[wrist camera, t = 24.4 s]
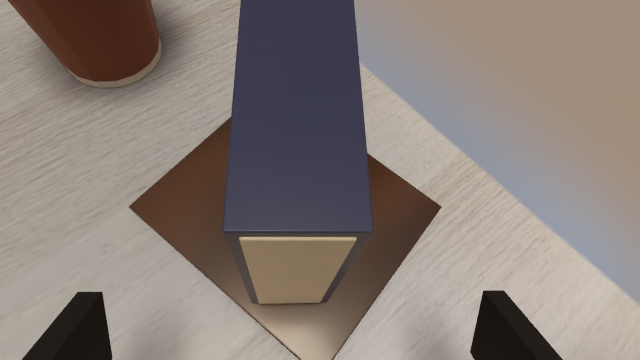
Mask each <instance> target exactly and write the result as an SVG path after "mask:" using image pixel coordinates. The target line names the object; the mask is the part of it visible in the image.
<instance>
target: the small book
mask: <svg viewBox="0 0 640 360" xmlns="http://www.w3.org/2000/svg"><path fill="white" fill-rule="evenodd" d="M357 45H358V44H357V34H356V21H355V10H354V0H241V6H240V18H239V30H238V42H237V55H236V67H235V79H234V91H233V103H232V115H231V127H230V139H229V151H228V164H227V176H226V188H225V200H224V212H223V224H222V232H223V235H224V237H225V239H226V242H227V244H228V247H229V249H230V251H231V254H232V256H233V259H234V261H235V264H236V266H237V268H238V271H239V273H240V276H241V278H242V281H243V283H244V285H245V288H246V290H247V293H248V295H249V297H250V300H251V302H252V303H259V304H283V303H320V302H327V301H328V299H329V298H330V296H331V295H332V293H333V292H334V290H335V289H336V287H337V286H338V284H339V283H340V281H341V280H342V278H343V277H344V275H345V274H346V273H347V271H348V270H349V268H350V267H351V265H352V264H353V262H354V261H355V259H356V258H357V256H358V255H359V253H360V252H361V250H362V249H363V247H364V246H365V244H366V243H367V241H368V240H369V238H370V237H371V235H372V234H373V232H374V227H373V215H372V204H371V192H370V181H369V170H368V158H367V147H366V135H365V124H364V113H363V101H362V90H361V78H360V67H359V56H358V46H357Z"/></svg>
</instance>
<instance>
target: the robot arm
mask: <svg viewBox="0 0 640 360" xmlns="http://www.w3.org/2000/svg"><path fill="white" fill-rule="evenodd" d="M470 353H471V354H472V356H473V358H474V360H562V358H561V357H560V356H559V355H558V354H557V352H556V351H555V350H554V349H553V348H552V347H551V345H550V344H549V343H548V342H547V341H546V340H545V338H544V337H543V336H542V335H541V334H540V333H539V331H538V330H537V329H536V328H535V327H534V325H533V324H532V323H531V322H530V321H529V320H528V318H527V317H526V316H525V315H524V314H523V313H522V311H521V310H520V309H519V308H518V307H517V305H516V304H515V303H514V302H513V301H512V300H511V298H510V297H509V296H508V295H507V294H506V293H505V291H483V295H482V300H481V304H480V309H479V314H478V318H477V323H476V328H475V332H474V337H473V341H472V346H471V351H470ZM22 360H112V352H111V346H110V339H109V333H108V326H107V320H106V314H105V307H104V301H103V294H102V292H78V293H77V294H76V295H75V296H74V297H73V299H72V300H71V301H70V302H69V303H68V305H67V306H66V307H65V308H64V309H63V311H62V312H61V313H60V314H59V315H58V317H57V318H56V319H55V320H54V321H53V323H52V324H51V325H50V326H49V328H48V329H47V330H46V331H45V332H44V334H43V335H42V336H41V337H40V338H39V340H38V341H37V342H36V343H35V344H34V346H33V347H32V348H31V349H30V350H29V352H28V353H27V354H26V355H25V356H24V358H23V359H22Z"/></svg>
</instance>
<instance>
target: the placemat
mask: <svg viewBox="0 0 640 360" xmlns="http://www.w3.org/2000/svg"><path fill="white" fill-rule="evenodd" d="M230 127H231V117H230V118H229V119H228V120H227V121H226V122H225V123H224V124H222V125H221V126H220V127H219V128H218V129H217V130H216V131H214V132H213V133H212V134H211V135H210V136H209V137H208V138H206V139H205V140H204V141H203V142H202V143H201V144H200V145H198V146H197V147H196V148H195V149H194V150H193V151H192V152H190V153H189V154H188V155H187V156H186V157H185V158H184V159H182V160H181V161H180V162H179V163H178V164H177V165H176V166H175V167H173V168H172V169H171V170H170V171H169V172H168V173H167V174H165V175H164V176H163V177H162V178H161V179H160V180H159V181H157V182H156V183H155V184H154V185H153V186H152V187H151V188H149V189H148V190H147V191H146V192H145V193H144V194H143V195H141V196H140V197H139V198H138V199H137V200H136V201H135V202H133V203H132V204H131V205H130V206H129V208H130V209H131V210H132V211H133V212H135V213H136V214H137V215H138V216H139V217H140V218H141V219H142V220H144V221H145V222H146V223H147V224H148V225H149V226H150V227H151V228H152V229H154V230H155V231H156V232H157V233H158V234H159V235H160V236H161V237H163V238H164V239H165V240H166V241H167V242H168V243H169V244H170V245H172V246H173V247H174V248H175V249H176V250H177V251H178V252H179V253H181V254H182V255H183V256H184V257H185V258H186V259H187V260H188V261H189V262H191V263H192V264H193V265H194V266H195V267H196V268H197V269H198V270H200V271H201V272H202V273H203V274H204V275H205V276H206V277H207V278H209V279H210V280H211V281H212V282H213V283H214V284H215V285H216V286H218V287H219V288H220V289H221V290H222V291H223V292H224V293H225V294H226V295H228V296H229V297H230V298H231V299H232V300H233V301H234V302H235V303H237V304H238V305H239V306H240V307H241V308H242V309H243V310H244V311H246V312H247V313H248V314H249V315H250V316H251V317H252V318H253V319H255V320H256V321H257V322H258V323H259V324H260V325H261V326H262V327H263V328H265V329H266V330H267V331H268V332H269V333H270V334H271V335H272V336H274V337H275V338H276V339H277V340H278V341H279V342H280V343H281V344H283V345H284V346H285V347H286V348H287V349H288V350H289V351H290V352H292V353H293V354H294V355H295V356H296V357H297V358H298V359H299V360H333V359H334V357H335V356H336V355H337V353H338V352H339V350H340V349H341V348H342V346H343V345H344V343H345V342H346V341H347V339H348V338H349V336H350V335H351V334H352V332H353V331H354V329H355V328H356V326H357V325H358V324H359V322H360V321H361V319H362V318H363V317H364V315H365V314H366V312H367V311H368V310H369V308H370V307H371V305H372V304H373V303H374V301H375V300H376V298H377V297H378V296H379V294H380V293H381V291H382V290H383V289H384V287H385V286H386V284H387V283H388V281H389V280H390V279H391V277H392V276H393V274H394V273H395V272H396V270H397V269H398V267H399V266H400V265H401V263H402V262H403V260H404V259H405V258H406V256H407V255H408V253H409V252H410V251H411V249H412V248H413V246H414V245H415V244H416V242H417V241H418V239H419V238H420V236H421V235H422V234H423V232H424V231H425V229H426V228H427V227H428V225H429V224H430V222H431V221H432V220H433V218H434V217H435V215H436V214H437V213H438V211H439V210H440V208H441V206H440V205H438V204H437V203H436V202H434V201H433V200H431V199H430V198H429V197H427V196H426V195H425V194H423V193H422V192H420V191H419V190H418V189H416V188H415V187H413V186H412V185H411V184H409V183H408V182H406V181H405V180H404V179H402V178H401V177H400V176H398V175H397V174H395V173H394V172H393V171H391V170H390V169H388V168H387V167H386V166H384V165H383V164H382V163H380V162H379V161H377V160H376V159H375V158H373V157H372V156H370V155H369V154H368V153H367V158H368V170H369V181H370V192H371V204H372V215H373V227H374V232H373V234H372V235H371V237H370V238H369V240H368V241H367V243H366V244H365V246H364V247H363V249H362V250H361V252H360V253H359V255H358V256H357V258H356V259H355V261H354V262H353V264H352V265H351V267H350V268H349V270H348V271H347V273H346V274H345V275H344V277H343V278H342V280H341V281H340V283H339V284H338V286H337V287H336V289H335V290H334V292H333V293H332V295H331V296H330V298H329V299H328V301H327V302H320V303H283V304H259V303H252V302H251V300H250V297H249V295H248V293H247V290H246V288H245V285H244V283H243V281H242V278H241V276H240V273H239V271H238V268H237V266H236V264H235V261H234V259H233V256H232V254H231V251H230V249H229V247H228V244H227V242H226V239H225V237H224V235H223V232H222V224H223V212H224V200H225V188H226V176H227V164H228V151H229V139H230Z"/></svg>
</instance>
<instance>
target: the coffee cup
mask: <svg viewBox="0 0 640 360" xmlns="http://www.w3.org/2000/svg"><path fill="white" fill-rule="evenodd" d="M8 1H9V2H10V4H11V5H12V6H13V7H14V8H15V9H16V11H17V12H18V13H19V14H20V15H21V16H22V17H23V19H24V20H25V21H26V22H27V23H28V24H29V26H30V27H31V28H32V29H33V30H34V31H35V32H36V34H37V35H38V36H39V37H40V38H41V39H42V41H43V42H44V43H45V44H46V45H47V46H48V48H49V49H50V50H51V51H52V52H53V53H54V54H55V56H56V57H57V58H58V59H59V60H60V61H61V63H62V64H63V65H64V66H65V67H66V69H67V70H68V72H69V73H70V74H71V75H73V76H74V77H75V78H76V79H78V80H79V81H80V82H81V83H84V84H87V85H91V86H94V87H98V88H115V87H122V86H125V85H128V84H131V83H134V82H137V81H139V80H140V79H142V78H143V77H144V76H146V75H147V74H148V73H150V72H151V71H152V70H153V69H154V67H155V66H156V64H157V63H158V61H159V59H160V58H161V47H162V43H161V40H160V37H159V33H158V29H157V25H156V21H155V17H154V13H153V9H152V5H151V1H150V0H8Z"/></svg>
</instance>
